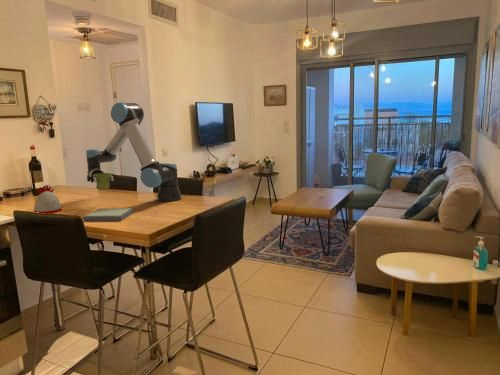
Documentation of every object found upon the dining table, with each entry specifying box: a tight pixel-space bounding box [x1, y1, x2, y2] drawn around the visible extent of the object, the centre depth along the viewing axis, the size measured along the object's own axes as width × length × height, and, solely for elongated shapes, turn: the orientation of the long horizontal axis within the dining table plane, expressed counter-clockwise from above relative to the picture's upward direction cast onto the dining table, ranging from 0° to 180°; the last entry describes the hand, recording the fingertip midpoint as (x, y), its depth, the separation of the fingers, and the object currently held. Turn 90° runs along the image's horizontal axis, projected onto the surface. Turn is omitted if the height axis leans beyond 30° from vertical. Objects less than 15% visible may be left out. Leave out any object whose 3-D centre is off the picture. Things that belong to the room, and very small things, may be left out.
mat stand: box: [82, 207, 135, 222], centre depth 196 cm, size 20×18×3 cm
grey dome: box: [33, 185, 63, 214], centre depth 210 cm, size 14×14×15 cm
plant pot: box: [93, 172, 112, 191], centre depth 215 cm, size 9×9×9 cm
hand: (104, 179), depth 210 cm, fingers closed on plant pot, 8 cm apart
